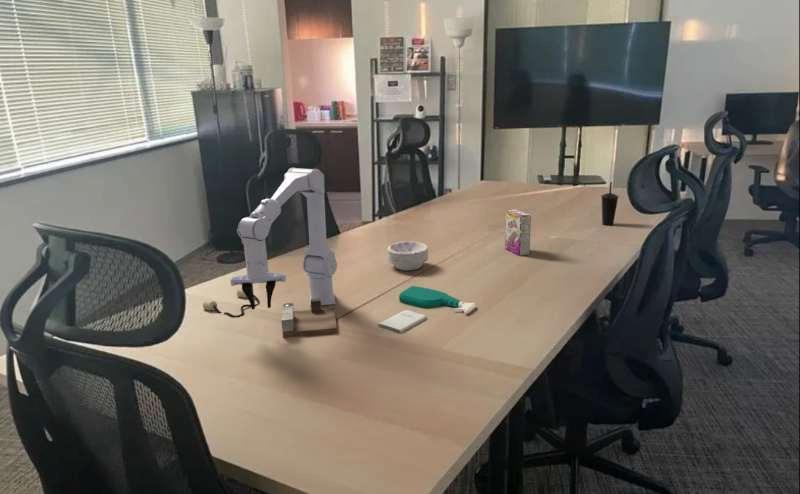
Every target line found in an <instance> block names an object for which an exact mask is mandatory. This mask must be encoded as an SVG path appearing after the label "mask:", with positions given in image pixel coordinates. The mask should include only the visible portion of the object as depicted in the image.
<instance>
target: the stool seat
mask: <svg viewBox="0 0 800 494" xmlns="http://www.w3.org/2000/svg"><path fill="white" fill-rule="evenodd" d="M337 328H338V327H337V319H336V310H335V307H327V308H322V305H321V298H317V299H311V306H310V309H305V310H294V330H293V331H286V332H282V339H285V338H296V337H305V336H306V337H307V336H315V335H326V334H329V335H330V334H337V333H338V329H337Z"/></svg>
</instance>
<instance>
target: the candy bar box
mask: <svg viewBox="0 0 800 494" xmlns="http://www.w3.org/2000/svg"><path fill="white" fill-rule="evenodd" d="M531 220H532V215H531V214H529V213H526V212H523V211H521V210H519V209H516V208H515V209H508V210H505V239H504V240H505V241H504V242H505V243H504V245H505V246H504V249H505V250H507V251H509V252H511V253H513V254H515V255H517V256H518V257H519V256H520V257H523V256H527V255H531V253H530V251H531V250H530V249H531V222H532V221H531Z"/></svg>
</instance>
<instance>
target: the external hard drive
mask: <svg viewBox="0 0 800 494" xmlns="http://www.w3.org/2000/svg"><path fill="white" fill-rule="evenodd" d="M425 320H427V315H426V314H422V313H417V312H415V311H412V310H409V309H405V310H402V311H400V312H398V313H397V314H394V315H393V316H390V317H388V318H387V319H385V320H383V321H381V322H379V323H378V327H379V328H382V329H385V330H388V331H393V332H395V333H397V334H402V333H404V332H405V331H407V330H409V329H411V328H412V327H415V326H416V325H418V324H420V323H422V322H424V321H425Z"/></svg>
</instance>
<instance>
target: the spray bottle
mask: <svg viewBox="0 0 800 494" xmlns="http://www.w3.org/2000/svg"><path fill="white" fill-rule="evenodd" d="M398 300H399V302H402V303H403V304H407V305H411V306H414V307H419V308H434V307H439V306H448V307H450V308H452V311H458V312H459V311H461V312H463V314H464V315H468V314H469V313H470V314H471V312H472V311H473V310H474V309H476V303H475V302H465V301H461V300H460V299H458V298H456V297H454V296H452V295H449V294H448V293H446V292H443V291H440V290H437V289H432V288H427V287H423V286H416V285H412V286H410V287H408V288H406V289H405V290H403V291H401V292H400V294H399V297H398Z"/></svg>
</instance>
